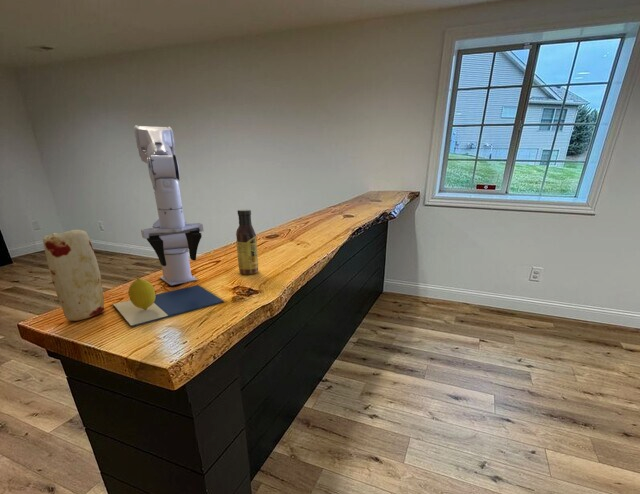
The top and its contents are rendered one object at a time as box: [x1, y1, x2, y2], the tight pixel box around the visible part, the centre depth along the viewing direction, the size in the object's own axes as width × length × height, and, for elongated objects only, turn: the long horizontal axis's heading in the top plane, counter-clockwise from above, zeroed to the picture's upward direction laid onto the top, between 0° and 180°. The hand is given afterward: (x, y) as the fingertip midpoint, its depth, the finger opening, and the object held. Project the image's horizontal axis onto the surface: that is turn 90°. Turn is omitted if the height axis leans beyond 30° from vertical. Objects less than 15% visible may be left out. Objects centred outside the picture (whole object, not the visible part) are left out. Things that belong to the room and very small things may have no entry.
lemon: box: [128, 277, 156, 310], centre depth 82 cm, size 6×6×8 cm
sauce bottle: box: [235, 208, 259, 276], centre depth 109 cm, size 6×6×20 cm
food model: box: [42, 229, 105, 322], centre depth 78 cm, size 10×7×20 cm
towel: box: [112, 284, 225, 328], centre depth 88 cm, size 16×22×1 cm
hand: (178, 262), depth 90 cm, fingers open, 7 cm apart
